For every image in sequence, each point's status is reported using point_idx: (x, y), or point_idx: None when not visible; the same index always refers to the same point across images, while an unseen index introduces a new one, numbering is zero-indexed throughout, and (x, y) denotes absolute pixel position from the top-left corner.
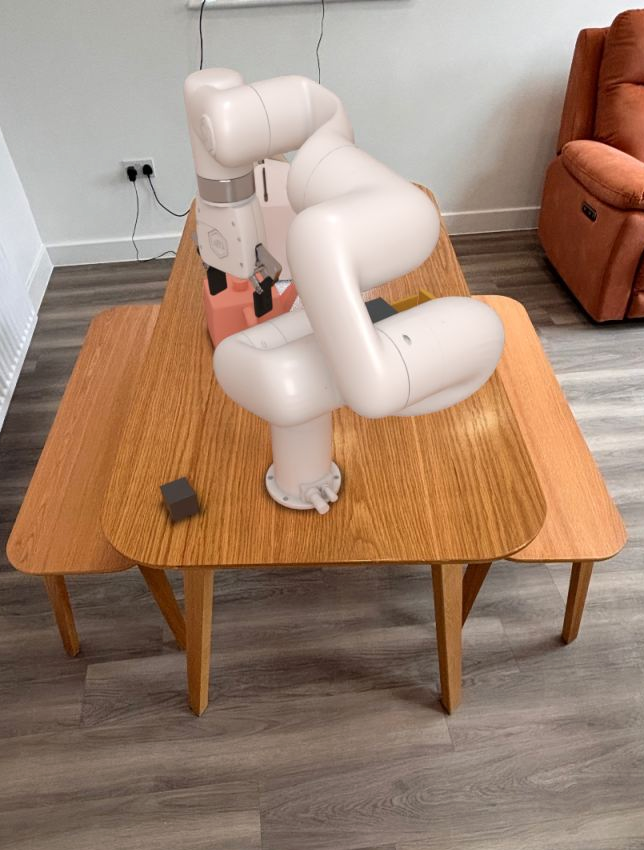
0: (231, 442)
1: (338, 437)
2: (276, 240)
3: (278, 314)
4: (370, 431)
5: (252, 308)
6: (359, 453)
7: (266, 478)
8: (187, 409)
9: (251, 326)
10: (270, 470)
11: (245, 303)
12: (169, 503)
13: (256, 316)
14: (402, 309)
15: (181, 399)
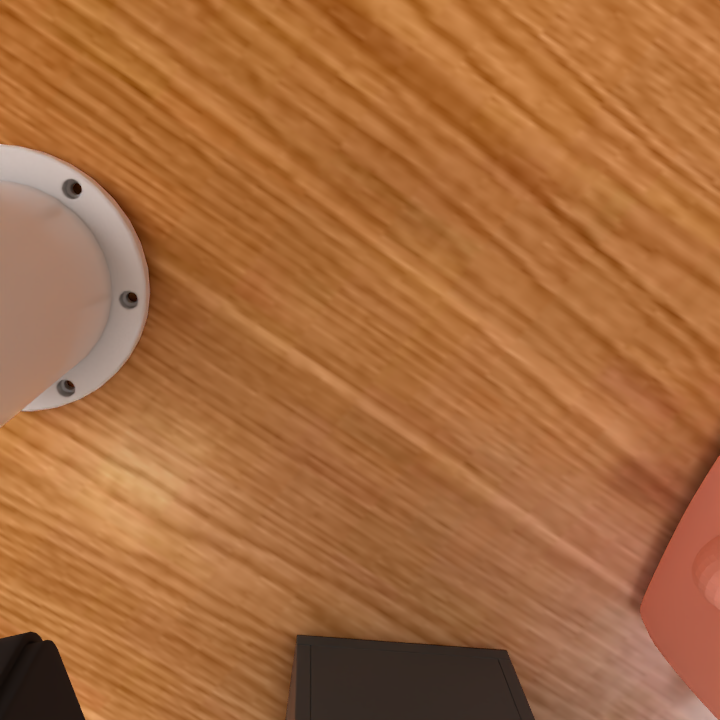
0: (345, 189)
1: (142, 494)
2: None
3: (716, 695)
4: (107, 586)
5: None
6: (38, 503)
7: (75, 174)
8: (608, 154)
9: (715, 574)
10: (104, 210)
11: None
12: None
13: (8, 637)
14: None
15: (671, 166)
